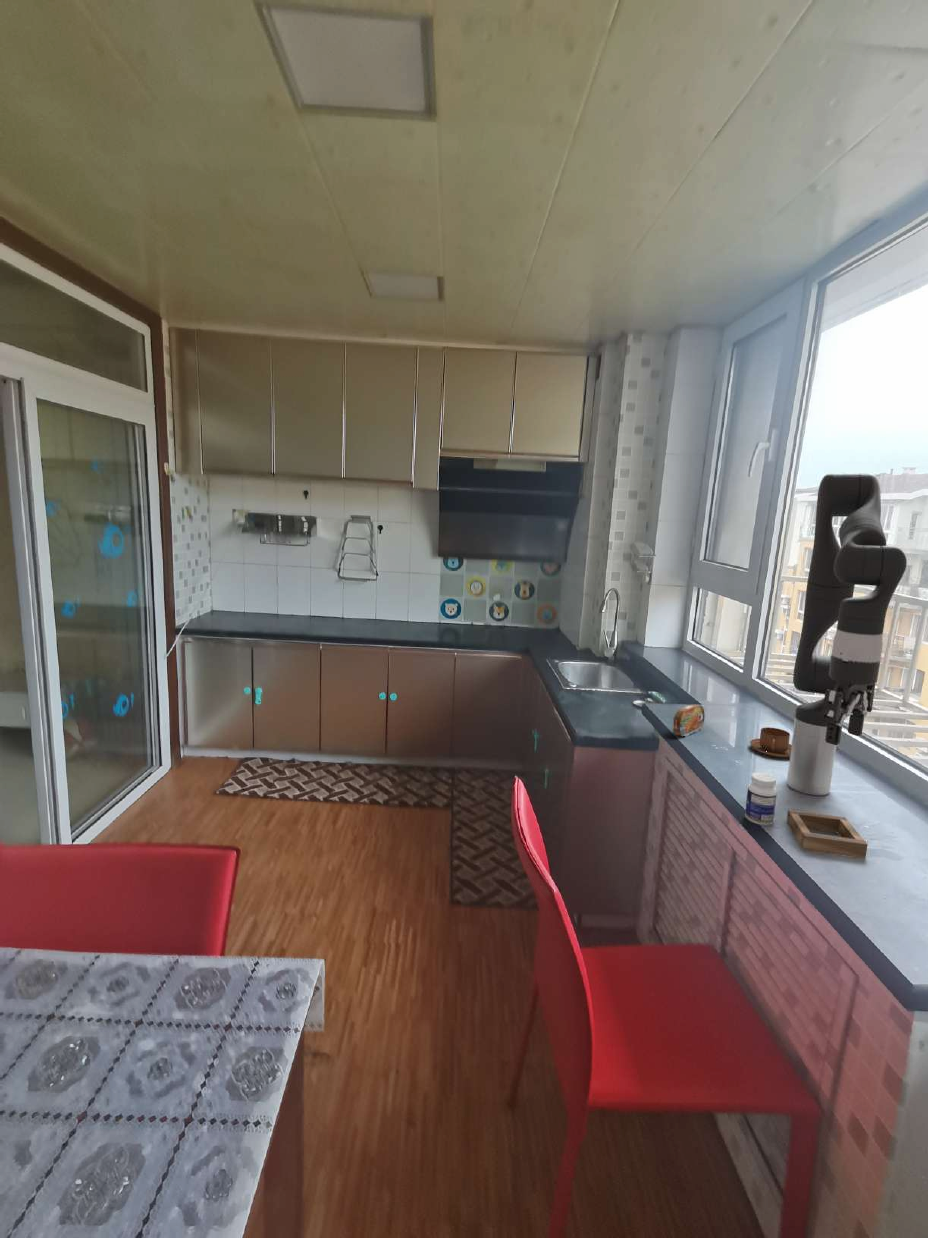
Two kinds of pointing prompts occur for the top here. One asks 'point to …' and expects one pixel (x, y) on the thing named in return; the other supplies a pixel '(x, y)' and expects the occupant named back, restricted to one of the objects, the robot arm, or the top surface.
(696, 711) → the tin
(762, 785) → the pill bottle
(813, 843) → the socket block
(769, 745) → the cup and saucer
